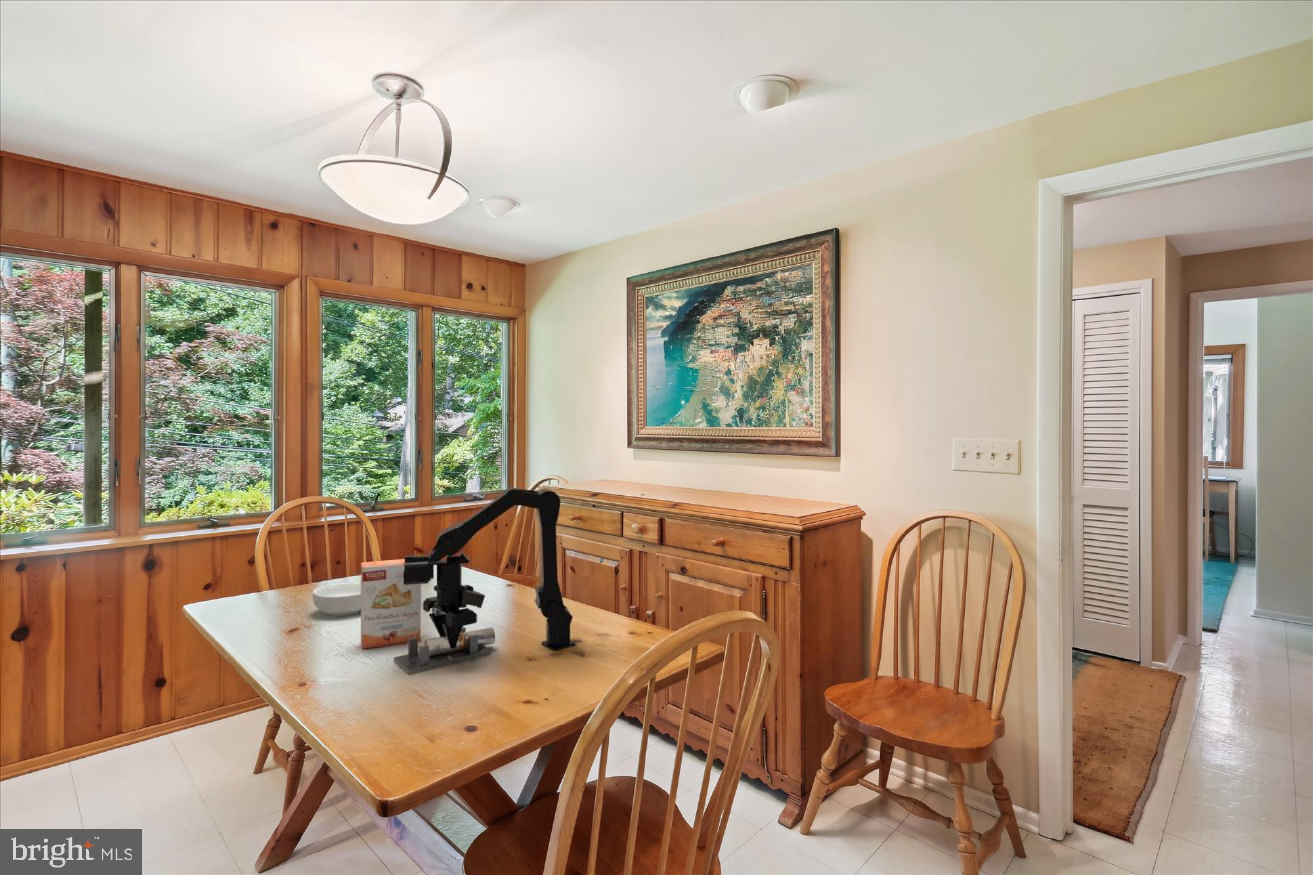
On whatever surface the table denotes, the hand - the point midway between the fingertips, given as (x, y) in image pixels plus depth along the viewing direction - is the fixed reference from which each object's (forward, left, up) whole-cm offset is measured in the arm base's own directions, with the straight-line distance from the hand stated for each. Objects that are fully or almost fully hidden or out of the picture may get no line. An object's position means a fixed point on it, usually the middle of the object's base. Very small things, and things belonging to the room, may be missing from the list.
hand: (449, 645), depth 156 cm
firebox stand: (0, +1, -3) cm, 3 cm away
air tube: (-1, -3, -1) cm, 3 cm away
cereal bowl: (+54, +9, -3) cm, 55 cm away
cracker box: (+19, +7, -3) cm, 21 cm away
